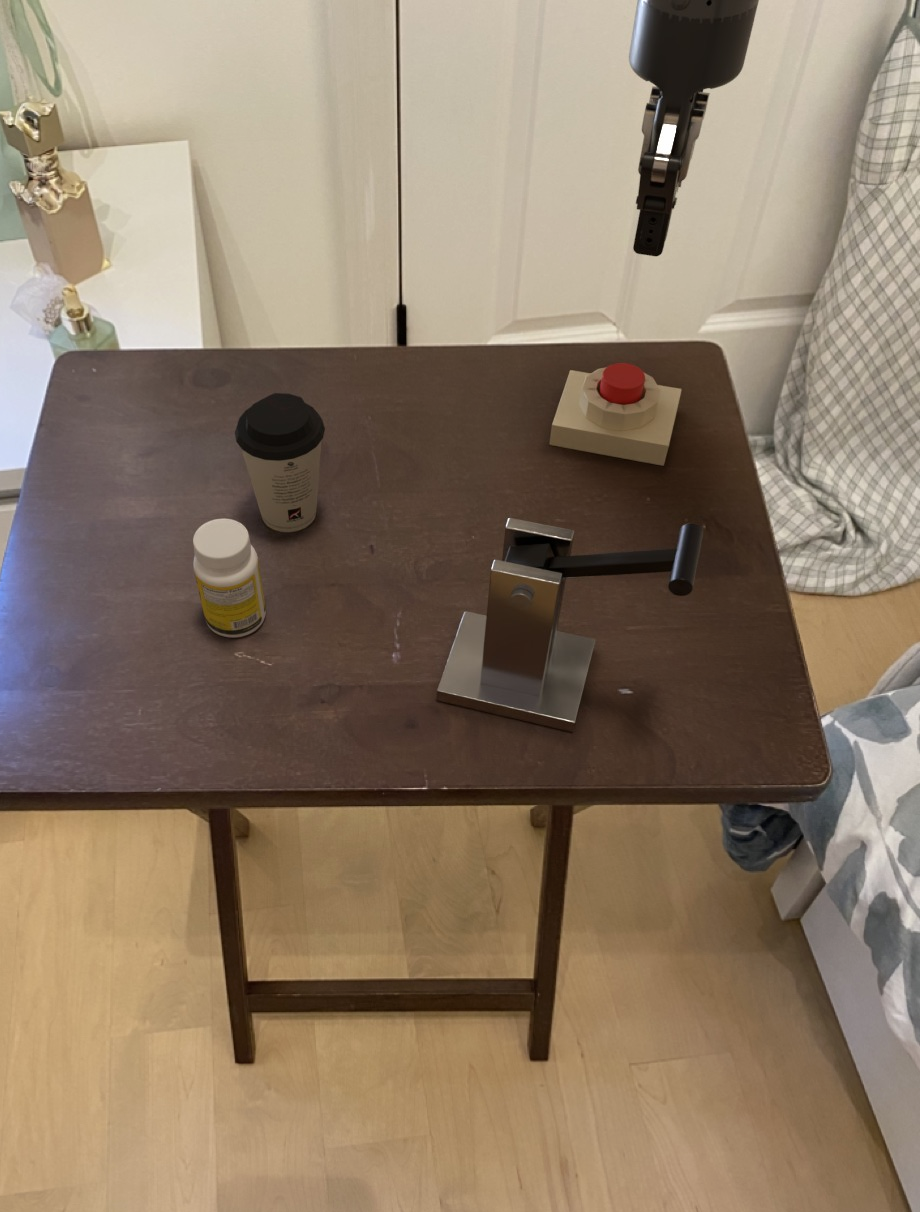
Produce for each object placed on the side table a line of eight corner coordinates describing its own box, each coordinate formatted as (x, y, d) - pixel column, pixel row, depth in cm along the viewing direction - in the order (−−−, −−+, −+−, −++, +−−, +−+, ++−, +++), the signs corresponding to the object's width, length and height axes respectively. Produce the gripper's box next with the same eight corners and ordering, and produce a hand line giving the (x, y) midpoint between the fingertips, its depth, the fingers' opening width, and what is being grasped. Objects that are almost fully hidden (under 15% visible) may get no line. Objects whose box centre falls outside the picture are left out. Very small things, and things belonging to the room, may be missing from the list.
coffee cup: (316, 549, 88) (308, 451, 80) (235, 534, 89) (219, 436, 81) (340, 492, 92) (335, 393, 84) (262, 478, 93) (249, 380, 85)
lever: (706, 545, 68) (700, 515, 67) (695, 601, 65) (689, 572, 64) (523, 558, 74) (514, 531, 72) (506, 610, 71) (496, 584, 69)
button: (644, 383, 94) (648, 366, 93) (638, 409, 92) (641, 392, 91) (603, 376, 95) (606, 359, 93) (596, 401, 93) (599, 384, 91)
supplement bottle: (220, 587, 85) (204, 507, 79) (275, 601, 84) (264, 521, 78) (195, 631, 83) (176, 552, 76) (252, 646, 82) (238, 567, 75)
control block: (676, 409, 98) (686, 371, 94) (663, 466, 93) (673, 428, 90) (567, 390, 99) (572, 352, 96) (549, 445, 95) (554, 407, 92)
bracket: (593, 649, 81) (621, 523, 71) (572, 732, 77) (599, 610, 66) (464, 621, 83) (473, 494, 73) (436, 700, 78) (441, 577, 68)
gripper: (749, 39, 64) (686, 304, 78) (770, -46, 72) (709, 208, 86) (622, 25, 66) (583, 287, 80) (656, -57, 73) (615, 195, 87)
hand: (649, 246), depth 83 cm, fingers closed
